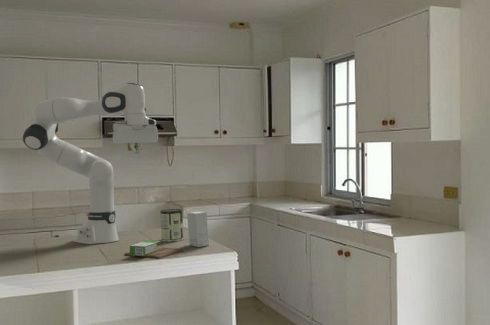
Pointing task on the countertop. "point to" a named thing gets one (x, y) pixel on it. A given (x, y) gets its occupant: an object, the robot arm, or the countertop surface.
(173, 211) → the coffee can
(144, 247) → the ink box
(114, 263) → the countertop surface
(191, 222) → the skincare box
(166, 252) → the walnut board
